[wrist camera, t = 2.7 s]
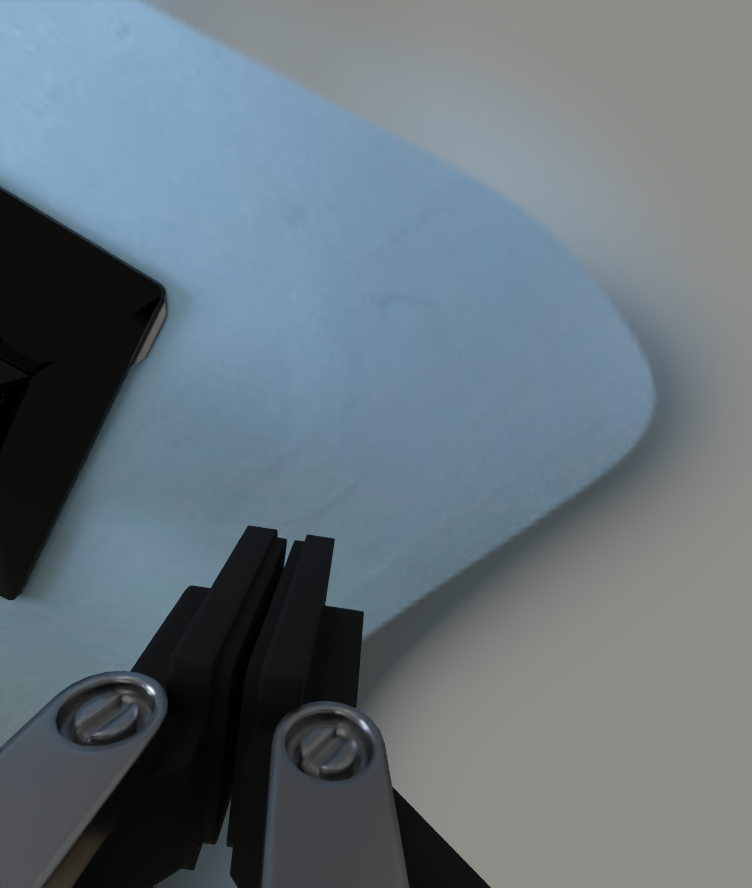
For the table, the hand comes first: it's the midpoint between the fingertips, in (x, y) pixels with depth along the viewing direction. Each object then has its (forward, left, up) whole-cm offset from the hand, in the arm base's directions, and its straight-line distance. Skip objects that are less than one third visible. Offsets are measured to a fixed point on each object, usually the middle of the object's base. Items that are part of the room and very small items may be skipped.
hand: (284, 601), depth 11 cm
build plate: (+9, -6, -8) cm, 13 cm away
